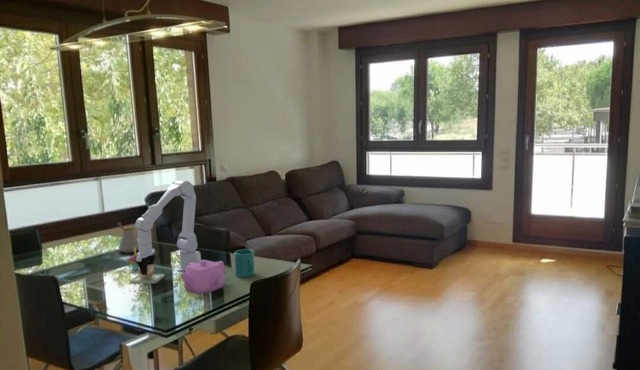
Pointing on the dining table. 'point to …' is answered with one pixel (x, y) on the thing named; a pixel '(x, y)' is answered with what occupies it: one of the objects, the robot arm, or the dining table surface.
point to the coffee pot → (128, 240)
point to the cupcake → (134, 261)
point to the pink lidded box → (204, 276)
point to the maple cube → (149, 271)
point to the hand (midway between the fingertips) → (147, 272)
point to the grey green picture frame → (148, 279)
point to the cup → (244, 263)
